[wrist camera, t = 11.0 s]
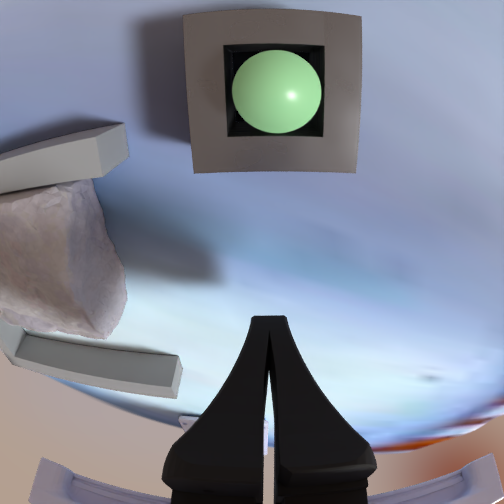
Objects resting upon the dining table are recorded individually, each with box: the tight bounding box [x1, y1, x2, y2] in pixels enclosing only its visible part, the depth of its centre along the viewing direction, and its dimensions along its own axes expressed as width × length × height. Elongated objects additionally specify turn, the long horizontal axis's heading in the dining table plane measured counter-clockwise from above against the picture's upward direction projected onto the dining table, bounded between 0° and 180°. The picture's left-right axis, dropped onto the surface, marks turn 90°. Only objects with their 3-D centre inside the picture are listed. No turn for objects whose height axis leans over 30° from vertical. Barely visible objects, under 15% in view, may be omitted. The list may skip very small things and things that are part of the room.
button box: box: [183, 9, 362, 174], centre depth 9 cm, size 5×5×3 cm
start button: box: [232, 50, 321, 133], centre depth 8 cm, size 2×2×4 cm
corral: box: [0, 123, 183, 399], centre depth 15 cm, size 16×16×2 cm
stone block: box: [0, 178, 127, 339], centre depth 14 cm, size 12×5×10 cm
